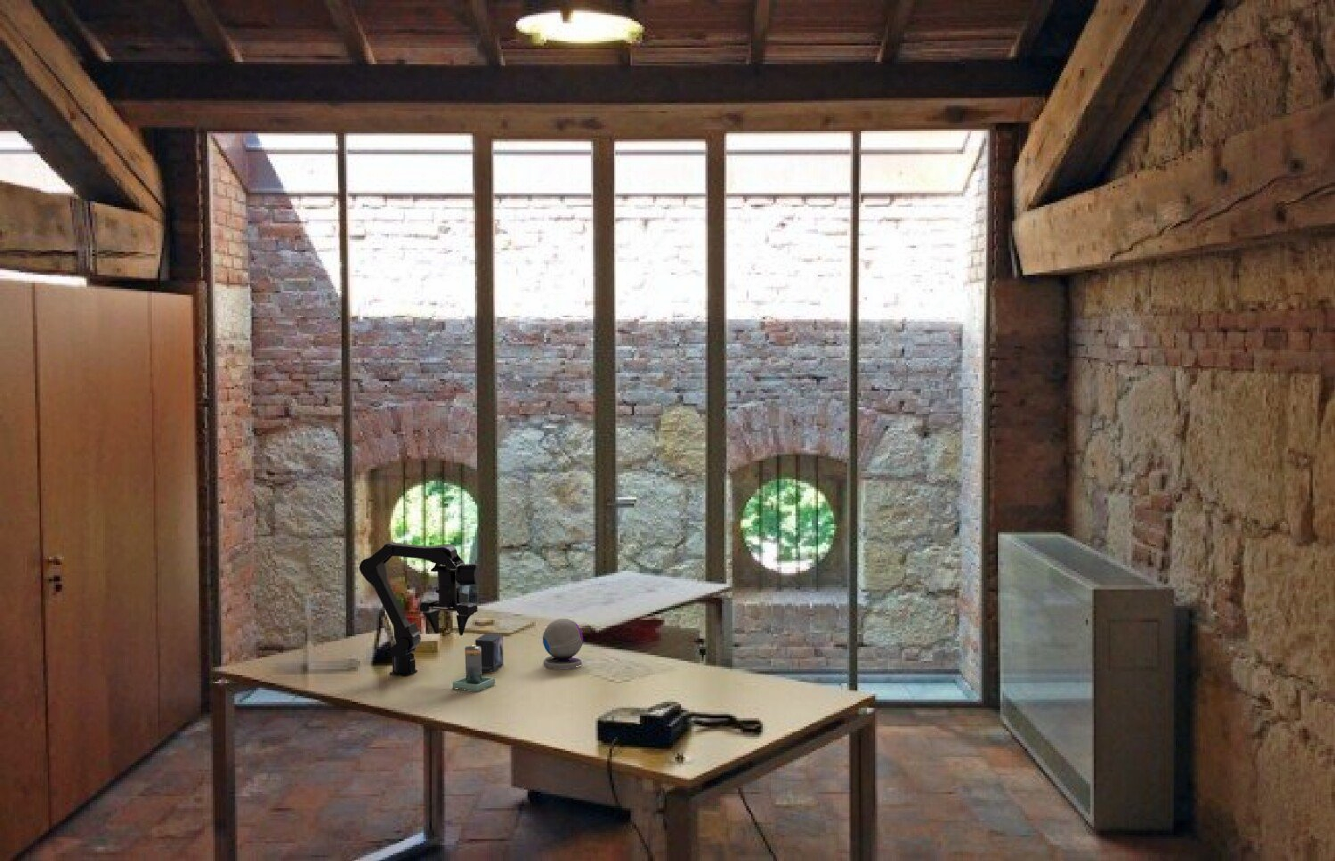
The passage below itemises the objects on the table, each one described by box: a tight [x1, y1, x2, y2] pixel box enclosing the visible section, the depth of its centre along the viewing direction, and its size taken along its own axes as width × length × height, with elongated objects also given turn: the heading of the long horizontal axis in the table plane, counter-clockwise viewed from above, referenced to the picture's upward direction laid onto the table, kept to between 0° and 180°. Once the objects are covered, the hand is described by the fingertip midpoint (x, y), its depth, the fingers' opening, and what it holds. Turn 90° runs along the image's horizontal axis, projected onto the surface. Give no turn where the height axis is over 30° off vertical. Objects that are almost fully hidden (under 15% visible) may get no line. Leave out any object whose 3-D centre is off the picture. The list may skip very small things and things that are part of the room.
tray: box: [452, 676, 496, 693], centre depth 441 cm, size 9×9×2 cm
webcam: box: [542, 618, 584, 670], centre depth 467 cm, size 13×13×15 cm
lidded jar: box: [464, 644, 483, 685], centre depth 441 cm, size 5×5×12 cm
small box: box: [474, 632, 504, 673], centre depth 463 cm, size 11×6×10 cm, turn 168°
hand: (449, 634), depth 455 cm, fingers open, 9 cm apart
